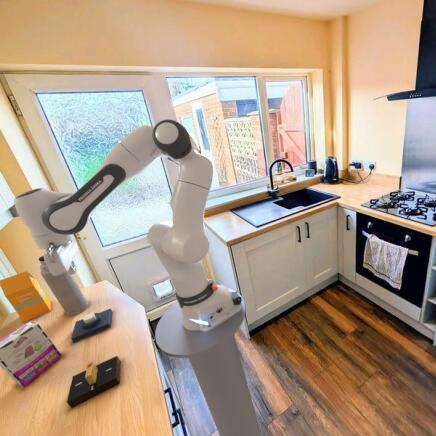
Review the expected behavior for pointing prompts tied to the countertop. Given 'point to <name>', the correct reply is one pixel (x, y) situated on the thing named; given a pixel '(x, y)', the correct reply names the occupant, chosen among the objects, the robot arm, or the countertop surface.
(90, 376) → the lock knob
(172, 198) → the robot arm
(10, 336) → the candy bar box
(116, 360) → the plate
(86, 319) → the bell button
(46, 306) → the orange juice
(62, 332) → the countertop surface
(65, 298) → the thermos bottle
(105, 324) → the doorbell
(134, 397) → the countertop surface
